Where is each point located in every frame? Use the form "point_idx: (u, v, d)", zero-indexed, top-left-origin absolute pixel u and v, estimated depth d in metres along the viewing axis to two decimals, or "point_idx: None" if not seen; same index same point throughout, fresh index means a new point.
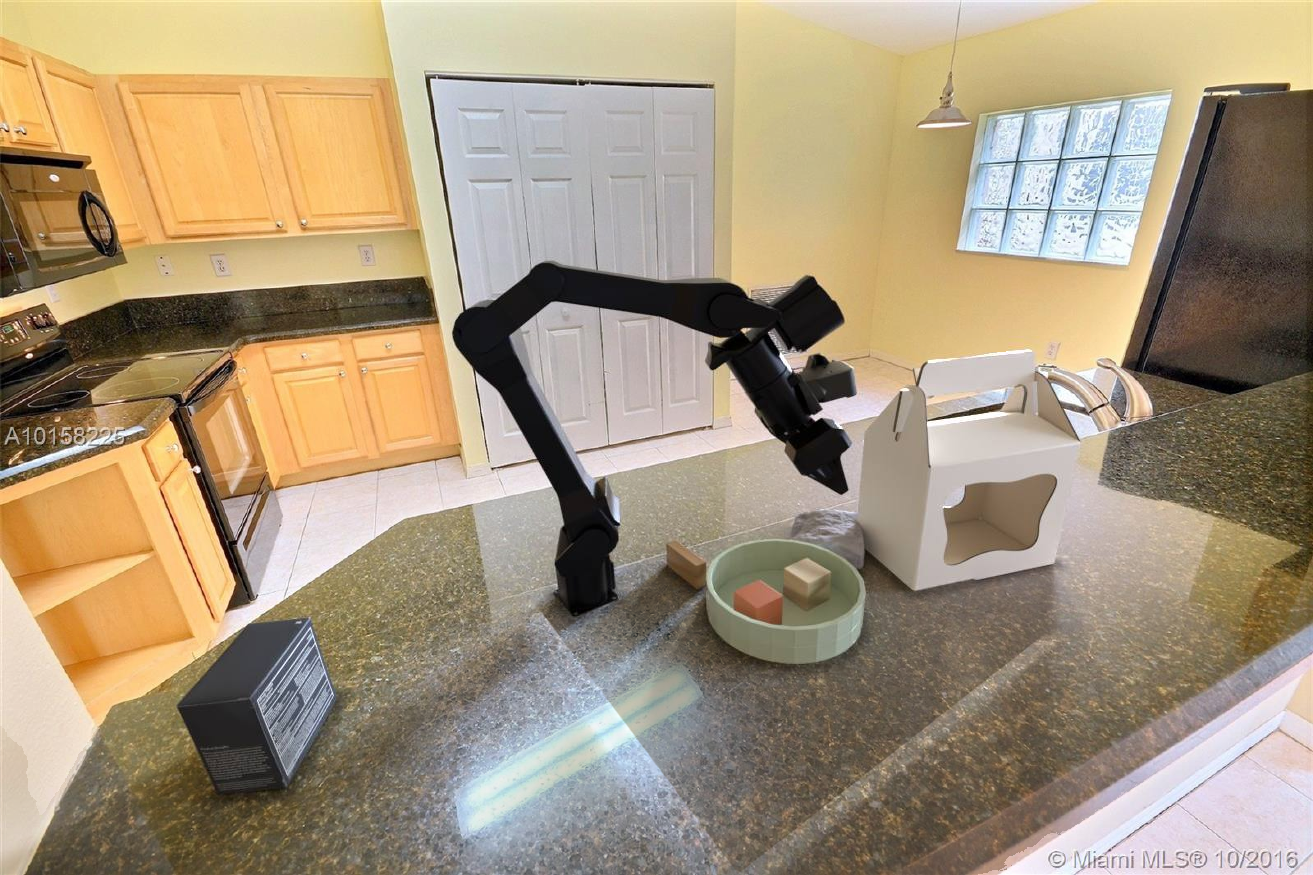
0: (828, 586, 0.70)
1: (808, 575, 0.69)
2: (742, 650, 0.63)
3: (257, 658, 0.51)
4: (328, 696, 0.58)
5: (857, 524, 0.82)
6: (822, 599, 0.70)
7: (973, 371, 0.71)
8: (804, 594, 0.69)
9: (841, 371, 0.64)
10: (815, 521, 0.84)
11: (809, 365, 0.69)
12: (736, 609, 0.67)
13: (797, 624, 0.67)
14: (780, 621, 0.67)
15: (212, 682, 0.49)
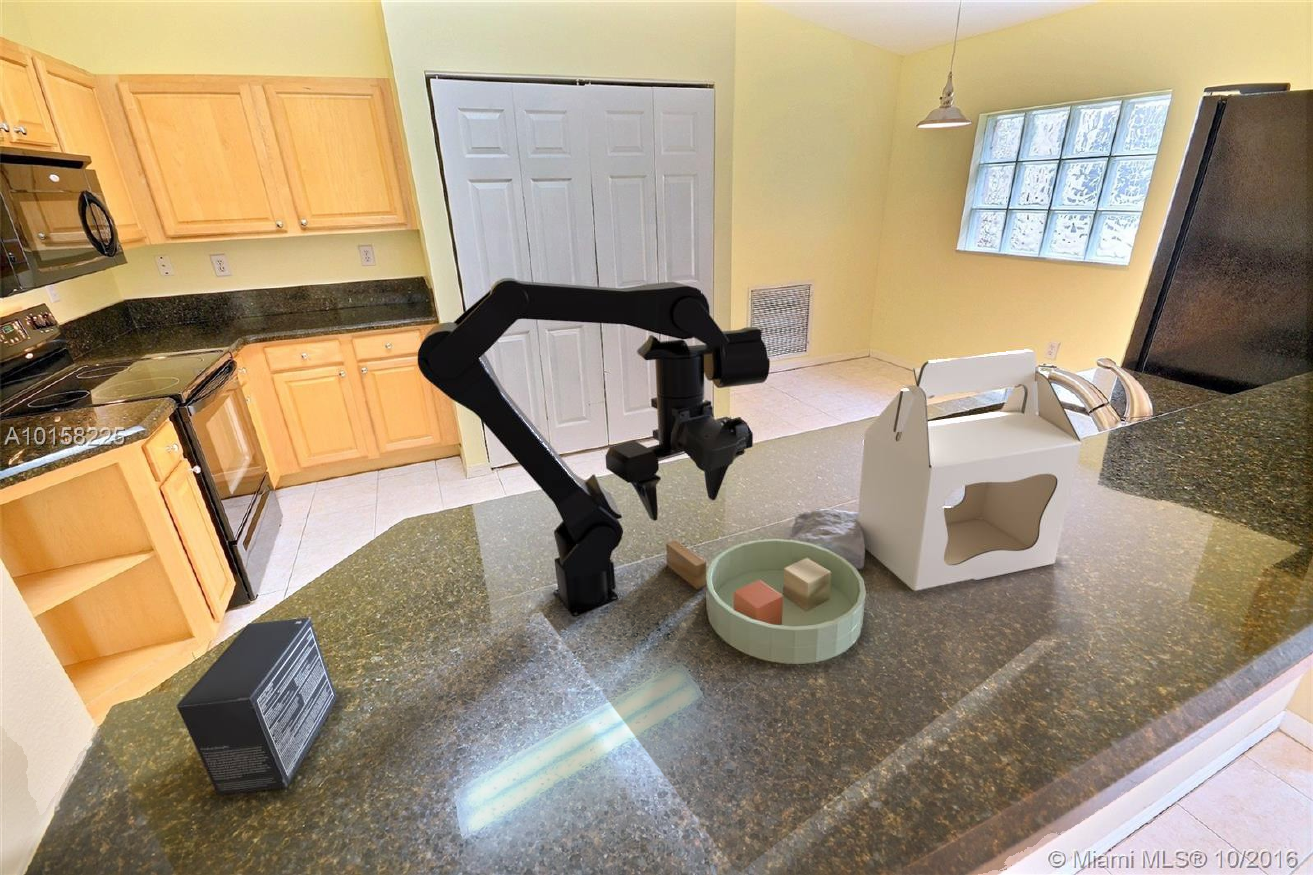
0: (828, 586, 0.70)
1: (808, 575, 0.69)
2: (742, 650, 0.63)
3: (257, 658, 0.51)
4: (328, 696, 0.58)
5: (857, 524, 0.82)
6: (822, 599, 0.70)
7: (974, 371, 0.71)
8: (804, 594, 0.69)
9: (705, 443, 0.63)
10: (815, 520, 0.84)
11: None
12: (736, 609, 0.67)
13: (797, 624, 0.67)
14: (780, 621, 0.67)
15: (212, 682, 0.49)
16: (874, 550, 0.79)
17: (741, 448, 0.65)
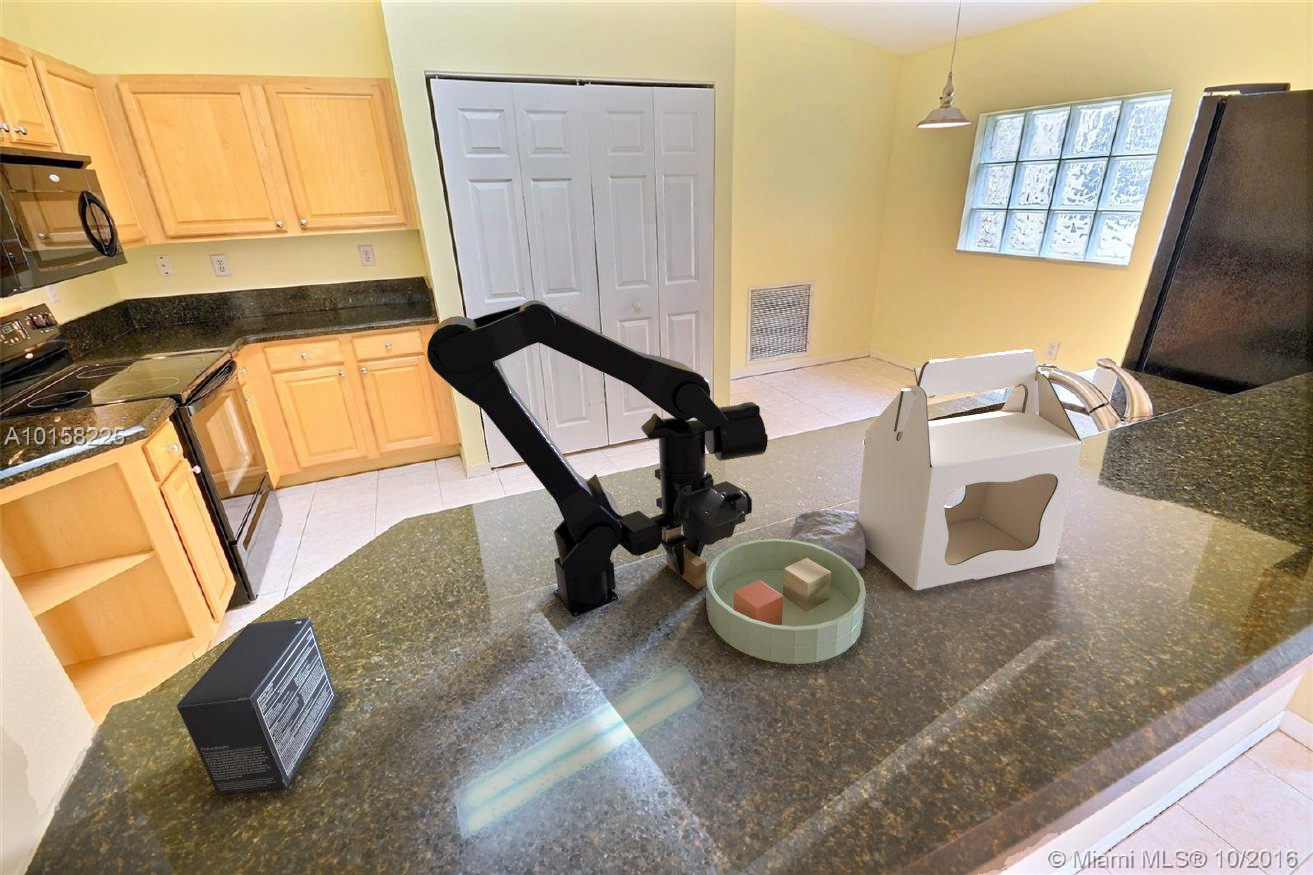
0: (828, 586, 0.70)
1: (808, 575, 0.69)
2: (742, 650, 0.63)
3: (257, 658, 0.51)
4: (328, 696, 0.58)
5: (858, 524, 0.82)
6: (822, 599, 0.70)
7: (974, 371, 0.71)
8: (804, 594, 0.69)
9: (706, 519, 0.67)
10: (816, 520, 0.84)
11: None
12: (736, 609, 0.67)
13: (797, 624, 0.67)
14: (780, 621, 0.67)
15: (212, 682, 0.49)
16: (875, 550, 0.79)
17: (741, 521, 0.69)
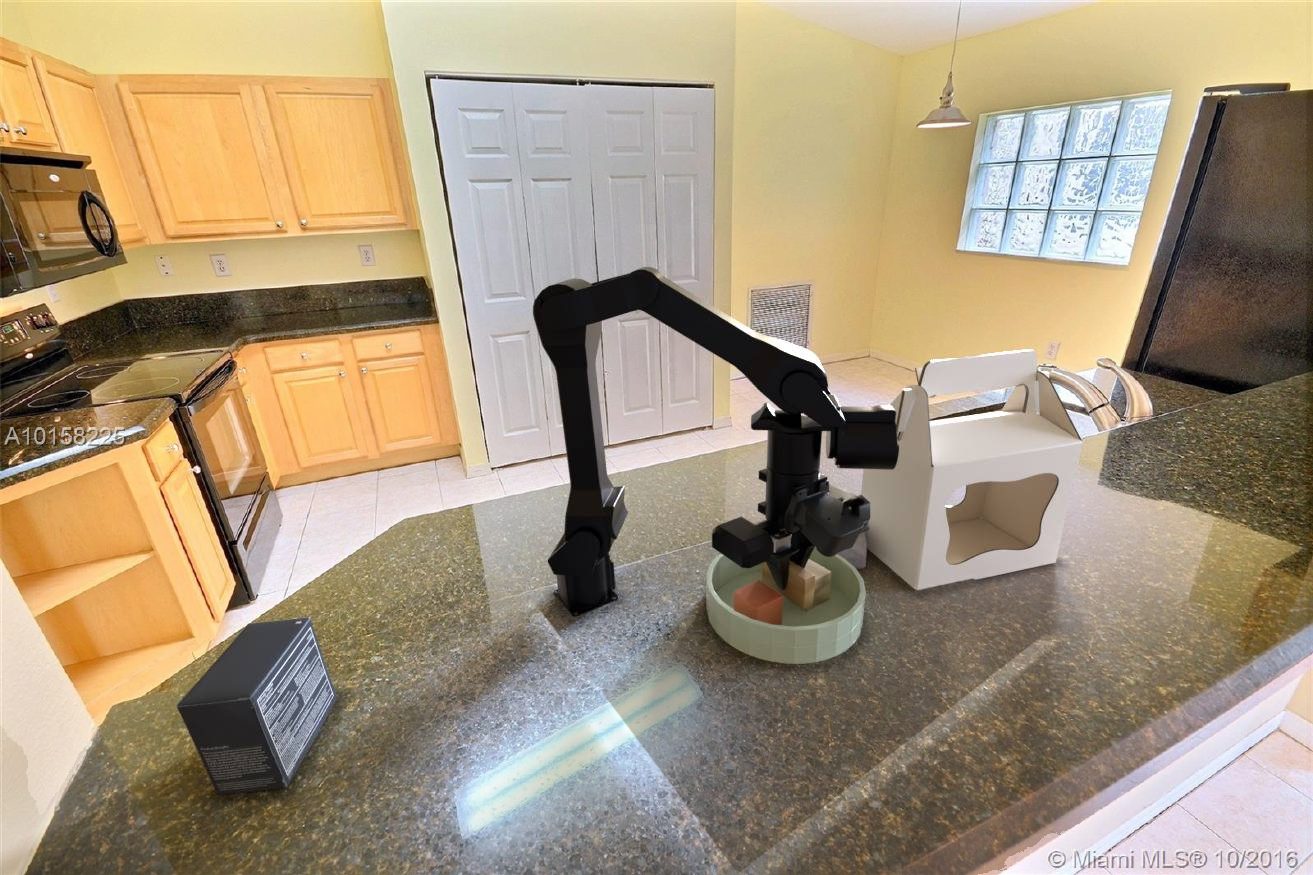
0: (828, 586, 0.70)
1: None
2: (742, 650, 0.63)
3: (257, 658, 0.51)
4: (328, 696, 0.58)
5: None
6: (822, 599, 0.70)
7: (975, 371, 0.71)
8: None
9: (829, 527, 0.58)
10: None
11: None
12: (736, 609, 0.67)
13: (797, 624, 0.67)
14: (780, 621, 0.67)
15: (212, 682, 0.49)
16: (876, 550, 0.79)
17: (864, 530, 0.60)
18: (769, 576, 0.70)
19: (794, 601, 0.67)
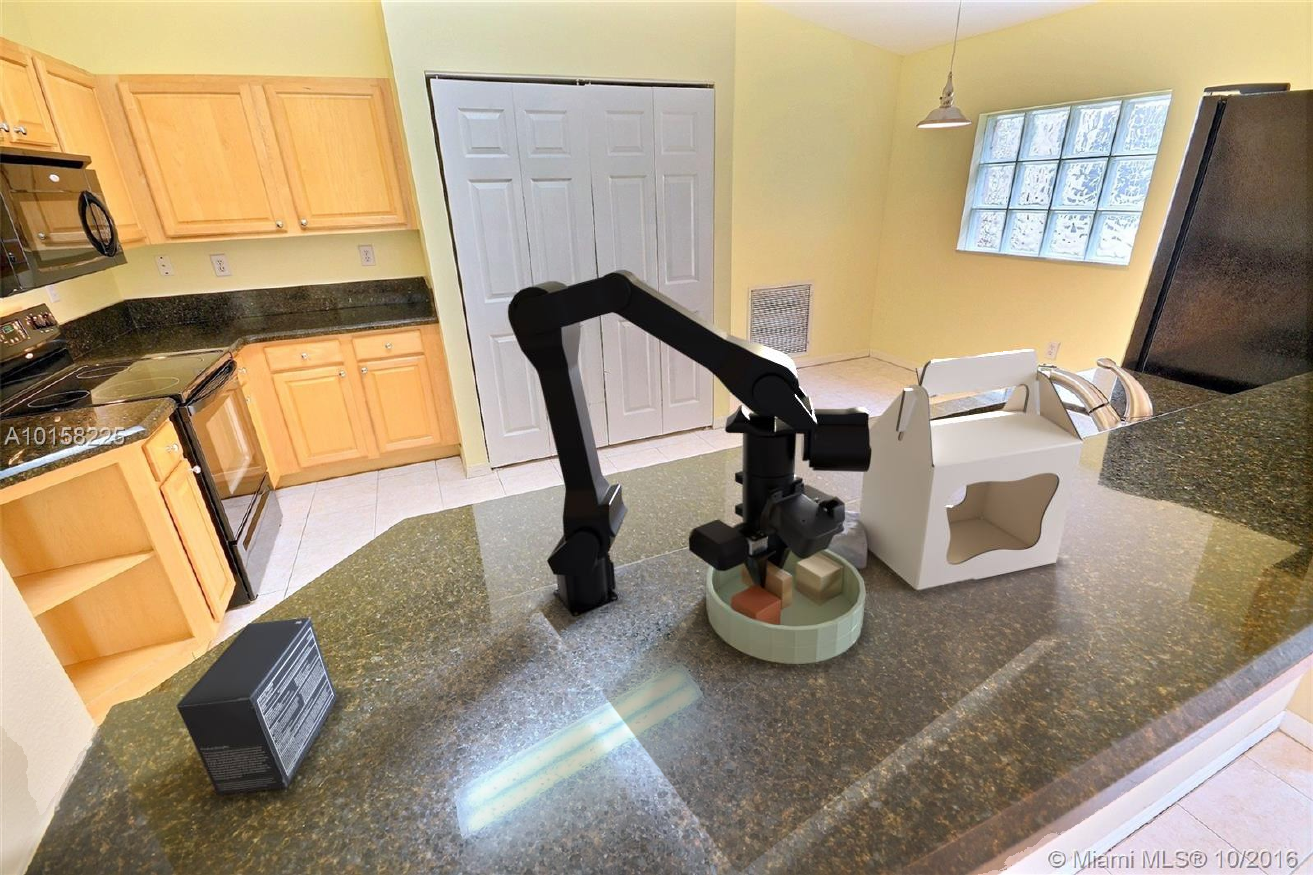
0: (840, 580, 0.71)
1: (821, 569, 0.70)
2: (742, 650, 0.63)
3: (257, 658, 0.51)
4: (328, 696, 0.58)
5: (859, 523, 0.82)
6: (834, 593, 0.71)
7: (976, 371, 0.71)
8: (817, 588, 0.70)
9: (803, 529, 0.59)
10: None
11: None
12: None
13: (797, 624, 0.67)
14: None
15: (212, 682, 0.49)
16: (876, 549, 0.80)
17: (839, 531, 0.61)
18: (748, 577, 0.70)
19: None
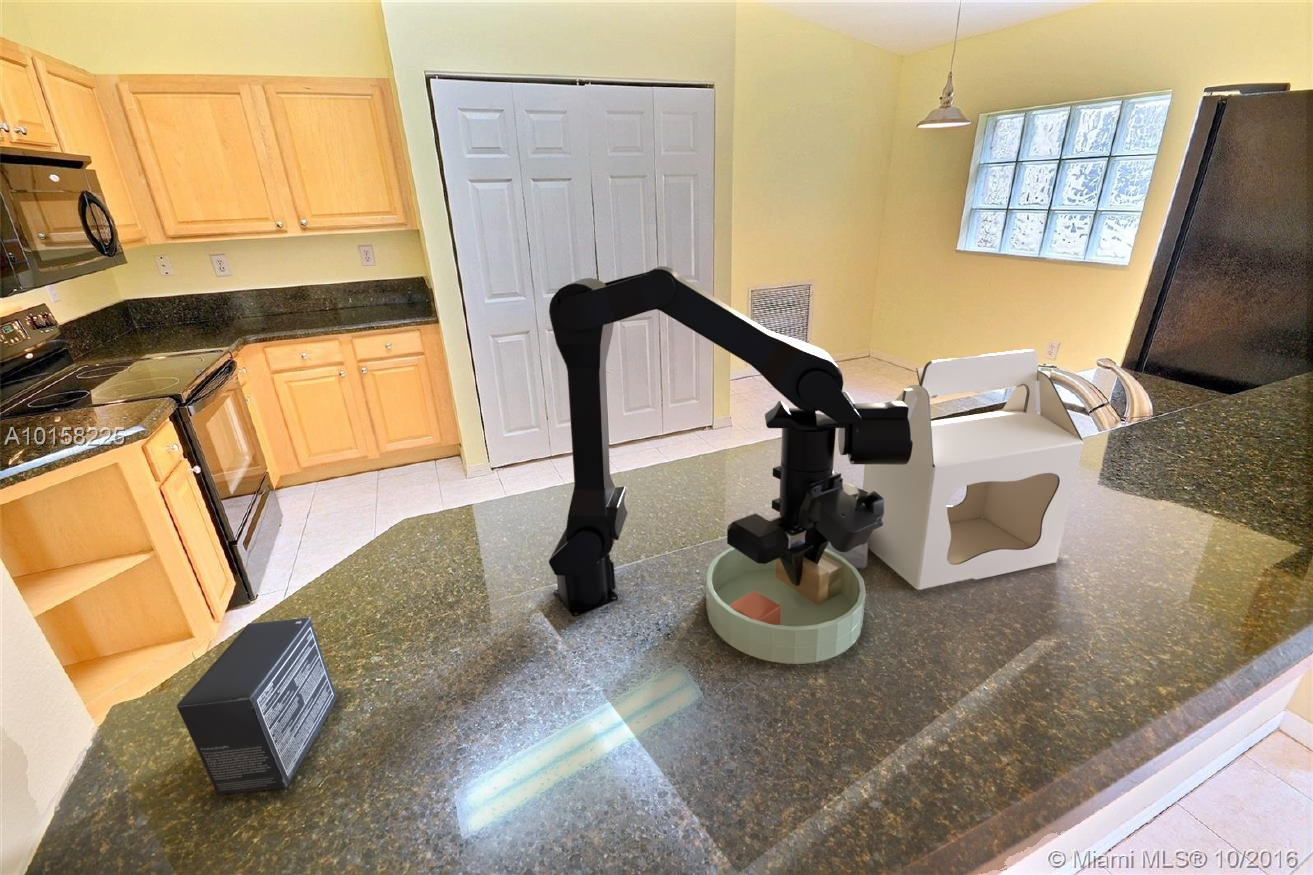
0: (840, 579, 0.71)
1: None
2: (742, 650, 0.63)
3: (257, 658, 0.51)
4: (328, 696, 0.58)
5: None
6: (835, 592, 0.71)
7: (976, 371, 0.71)
8: None
9: (844, 523, 0.59)
10: None
11: None
12: None
13: (797, 624, 0.67)
14: None
15: (212, 682, 0.49)
16: (877, 549, 0.80)
17: (878, 526, 0.61)
18: (783, 572, 0.71)
19: (808, 597, 0.68)
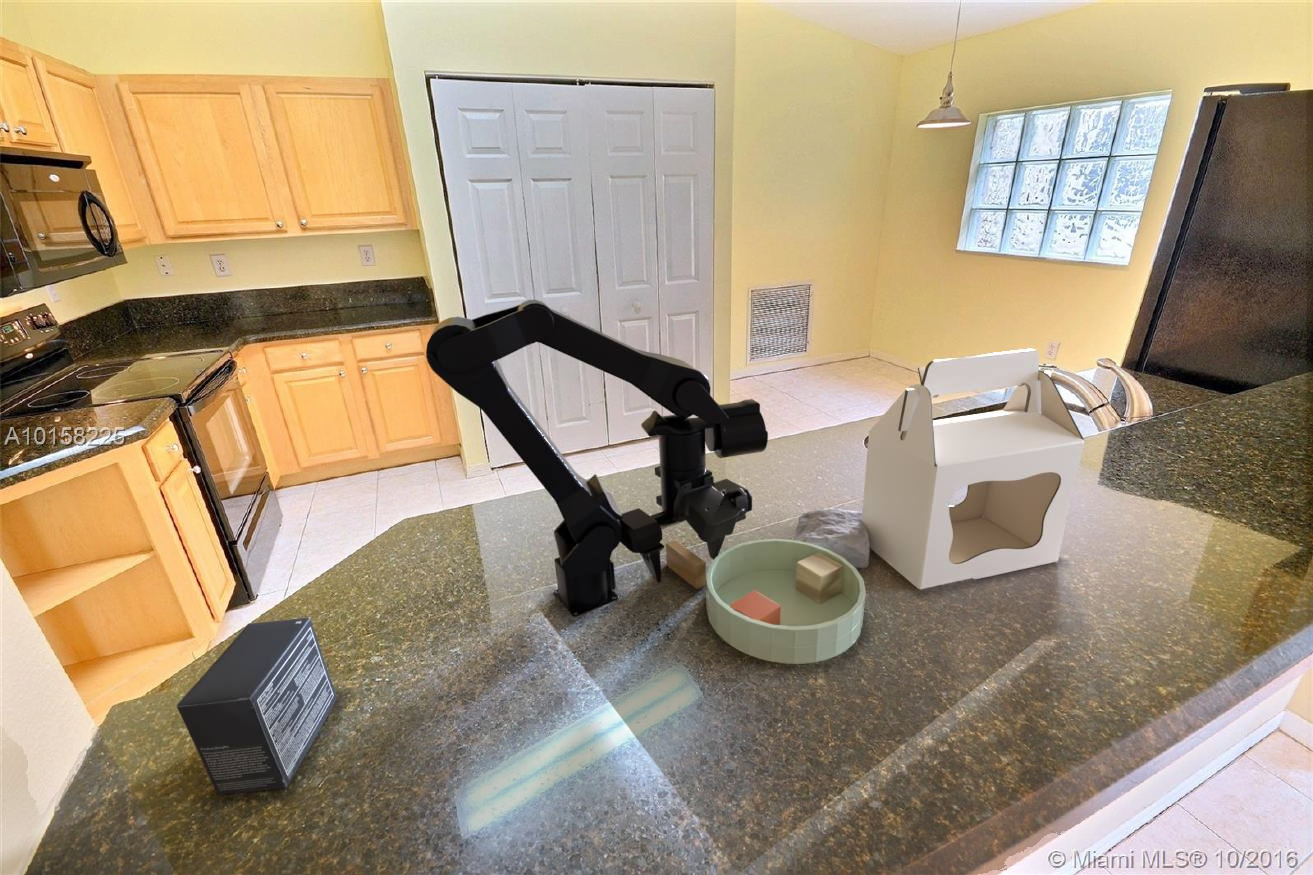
0: (840, 580, 0.71)
1: (821, 568, 0.70)
2: (742, 650, 0.63)
3: (257, 658, 0.51)
4: (328, 696, 0.58)
5: (861, 523, 0.82)
6: (835, 592, 0.71)
7: (978, 370, 0.71)
8: (817, 587, 0.70)
9: (706, 516, 0.67)
10: (819, 520, 0.84)
11: None
12: None
13: (797, 624, 0.67)
14: None
15: (212, 682, 0.49)
16: (878, 549, 0.80)
17: (741, 519, 0.69)
18: (671, 563, 0.79)
19: None
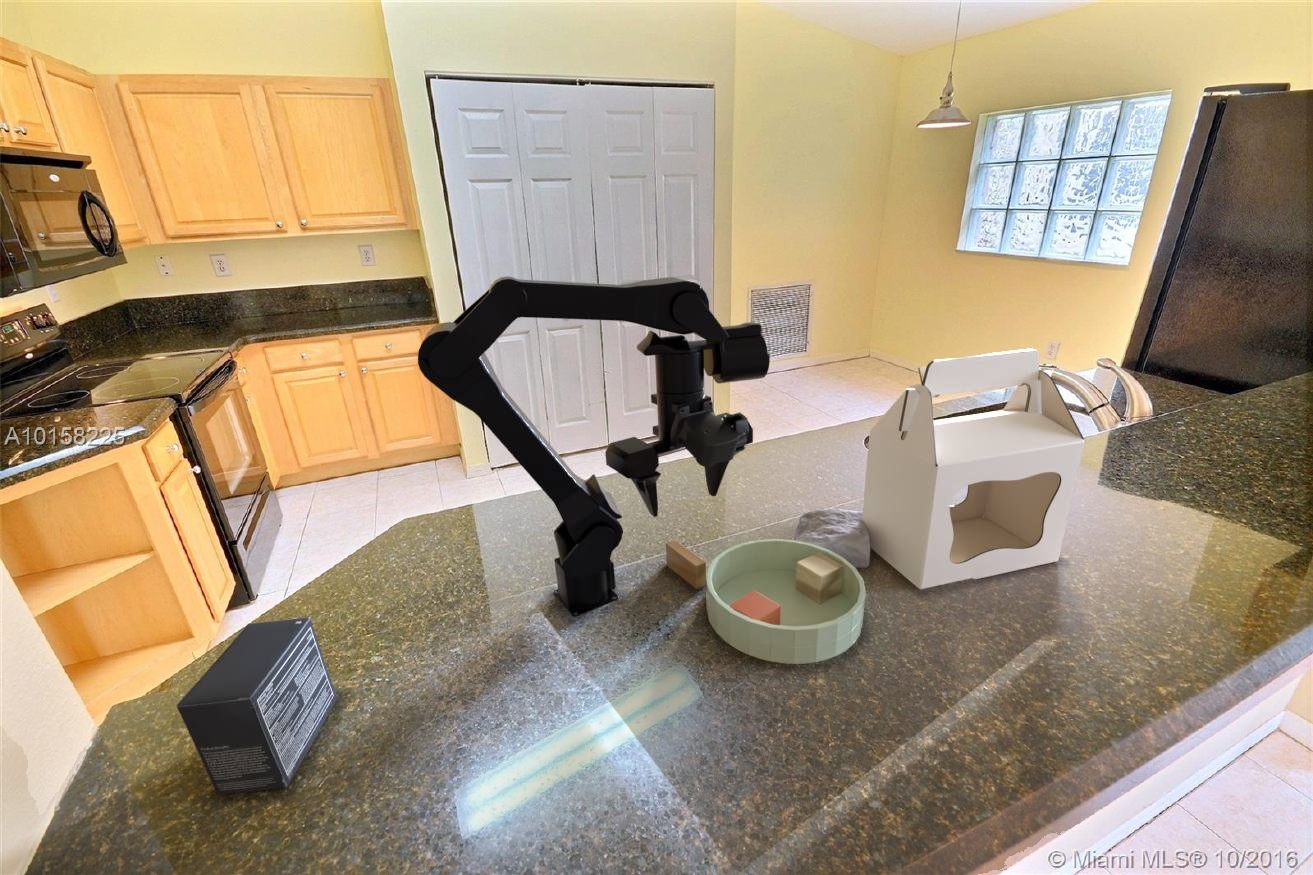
0: (840, 580, 0.71)
1: (821, 568, 0.70)
2: (742, 650, 0.63)
3: (257, 658, 0.51)
4: (328, 696, 0.58)
5: (862, 523, 0.82)
6: (835, 592, 0.71)
7: (978, 370, 0.71)
8: (817, 587, 0.70)
9: (705, 438, 0.63)
10: (820, 520, 0.84)
11: None
12: None
13: (797, 624, 0.67)
14: None
15: (212, 682, 0.49)
16: (879, 549, 0.80)
17: (741, 443, 0.65)
18: (671, 563, 0.79)
19: None
